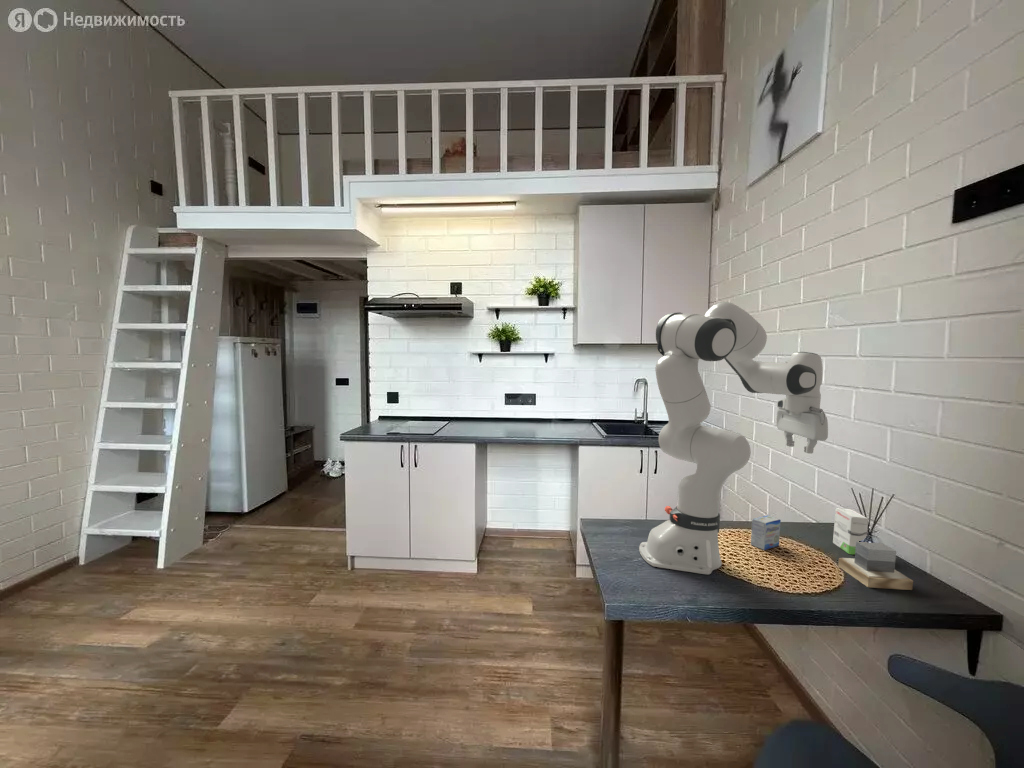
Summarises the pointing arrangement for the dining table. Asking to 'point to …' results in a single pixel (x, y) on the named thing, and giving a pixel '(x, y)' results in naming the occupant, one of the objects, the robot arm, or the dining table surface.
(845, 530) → the ink box
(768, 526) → the medicine box
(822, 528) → the dining table surface
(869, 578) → the plinth
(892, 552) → the housing
